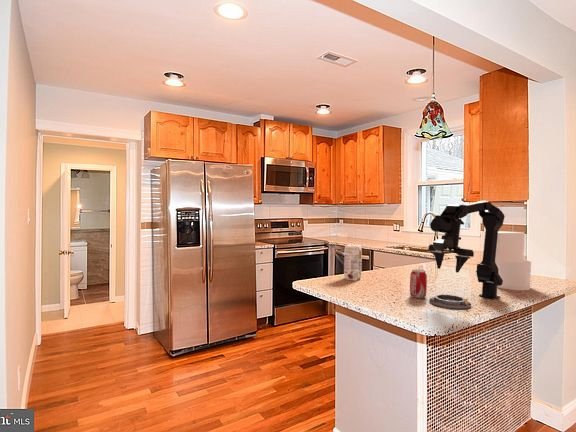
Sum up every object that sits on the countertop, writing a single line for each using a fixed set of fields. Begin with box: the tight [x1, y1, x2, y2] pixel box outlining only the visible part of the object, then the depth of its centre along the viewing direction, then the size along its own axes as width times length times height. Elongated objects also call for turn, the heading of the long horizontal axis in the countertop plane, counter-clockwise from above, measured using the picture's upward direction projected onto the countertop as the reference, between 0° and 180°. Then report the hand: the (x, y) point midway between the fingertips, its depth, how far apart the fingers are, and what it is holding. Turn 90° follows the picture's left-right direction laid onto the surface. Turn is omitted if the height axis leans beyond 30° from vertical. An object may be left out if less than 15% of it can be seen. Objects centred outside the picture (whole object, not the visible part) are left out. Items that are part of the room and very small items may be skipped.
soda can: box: [409, 269, 428, 299], centre depth 161 cm, size 7×7×12 cm
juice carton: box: [343, 243, 363, 282], centre depth 197 cm, size 8×9×19 cm
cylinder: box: [495, 231, 532, 291], centre depth 185 cm, size 17×17×28 cm
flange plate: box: [428, 293, 472, 310], centre depth 150 cm, size 16×16×4 cm
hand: (447, 270), depth 151 cm, fingers open, 9 cm apart
